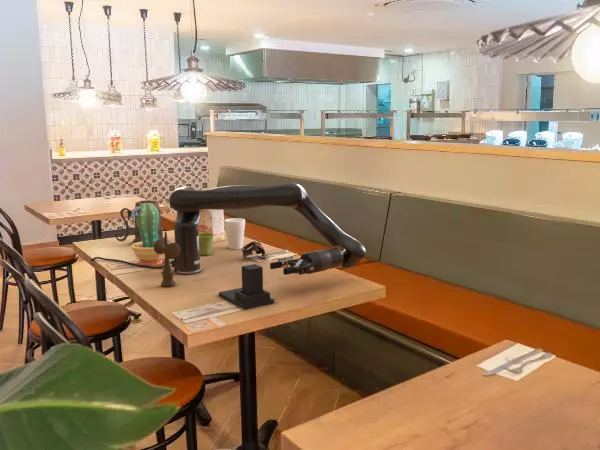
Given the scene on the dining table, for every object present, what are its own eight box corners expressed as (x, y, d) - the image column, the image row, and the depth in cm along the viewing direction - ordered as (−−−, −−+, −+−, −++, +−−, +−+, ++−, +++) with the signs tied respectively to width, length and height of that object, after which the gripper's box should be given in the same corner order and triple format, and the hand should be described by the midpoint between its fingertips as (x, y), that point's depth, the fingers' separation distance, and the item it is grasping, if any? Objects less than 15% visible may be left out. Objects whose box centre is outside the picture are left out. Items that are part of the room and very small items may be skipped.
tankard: (162, 237, 285) (160, 198, 281) (171, 244, 271) (169, 202, 267) (113, 243, 274) (110, 201, 270) (119, 250, 259) (116, 206, 256)
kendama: (166, 290, 201) (164, 234, 198) (154, 284, 208) (151, 230, 204) (182, 286, 205) (179, 232, 202) (169, 281, 212) (166, 228, 209)
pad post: (242, 298, 189) (241, 266, 187) (255, 295, 192) (254, 263, 190) (249, 302, 185) (249, 269, 183) (263, 299, 188) (262, 267, 186)
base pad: (218, 295, 196) (218, 285, 195) (247, 289, 202) (247, 279, 202) (244, 309, 182) (243, 298, 181) (274, 302, 188) (273, 292, 188)
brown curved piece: (266, 262, 242) (256, 246, 239) (247, 270, 244) (237, 255, 241) (271, 248, 252) (261, 233, 250) (253, 256, 255) (243, 242, 252)
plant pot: (188, 255, 251) (187, 236, 249) (201, 250, 259) (200, 232, 257) (206, 257, 247) (206, 237, 245) (219, 252, 256) (218, 233, 254)
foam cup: (226, 245, 270) (225, 218, 267) (246, 245, 270) (245, 218, 268) (224, 250, 260) (223, 222, 258) (244, 249, 261) (244, 221, 259)
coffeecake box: (196, 237, 287) (194, 198, 284) (209, 235, 292) (207, 197, 288) (212, 242, 277) (210, 202, 273) (225, 240, 281) (223, 200, 278)
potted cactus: (144, 257, 247) (140, 199, 242) (177, 259, 244) (174, 201, 239) (124, 266, 232) (120, 205, 227) (159, 268, 229) (155, 207, 224)
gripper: (305, 247, 207) (265, 253, 197) (328, 255, 196) (288, 262, 186) (305, 267, 208) (266, 275, 199) (328, 276, 197) (288, 284, 187)
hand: (277, 268), depth 192 cm, fingers open, 8 cm apart
